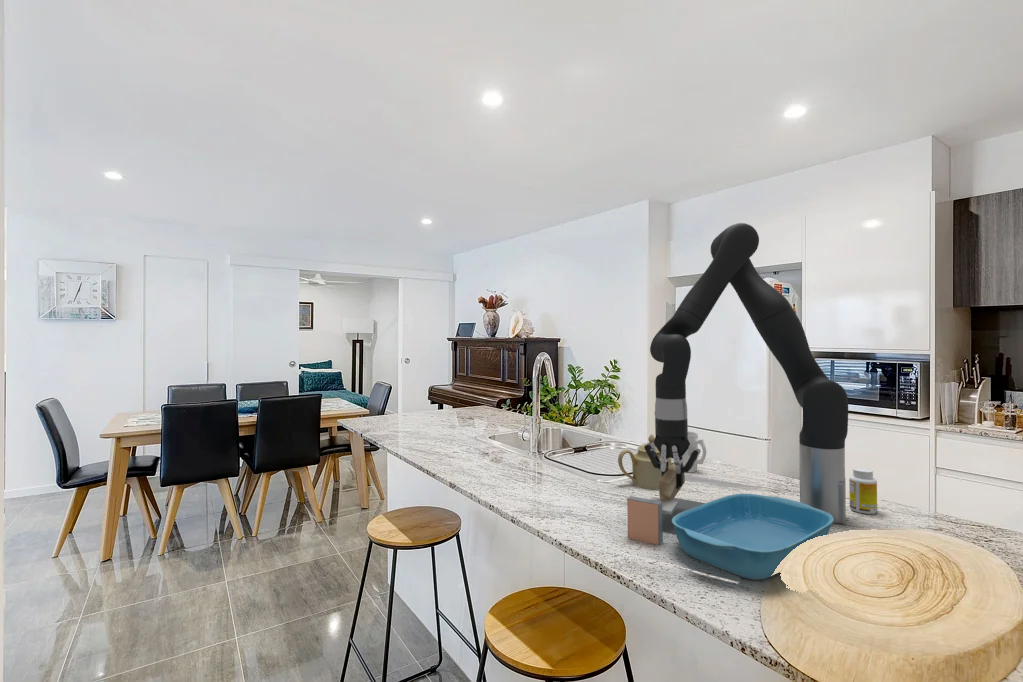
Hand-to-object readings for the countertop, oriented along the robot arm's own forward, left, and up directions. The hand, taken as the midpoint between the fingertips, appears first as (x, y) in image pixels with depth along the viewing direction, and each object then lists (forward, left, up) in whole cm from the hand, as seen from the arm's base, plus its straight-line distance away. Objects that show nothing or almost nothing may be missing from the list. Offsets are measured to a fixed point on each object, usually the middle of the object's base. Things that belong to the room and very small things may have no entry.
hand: (672, 486), depth 120 cm
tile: (0, +18, -7) cm, 19 cm away
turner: (0, +2, -2) cm, 3 cm away
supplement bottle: (-38, -29, -7) cm, 48 cm away
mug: (+7, -42, -7) cm, 43 cm away
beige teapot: (+13, -19, -7) cm, 24 cm away
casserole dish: (-19, +9, -8) cm, 23 cm away
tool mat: (0, 0, -7) cm, 7 cm away
